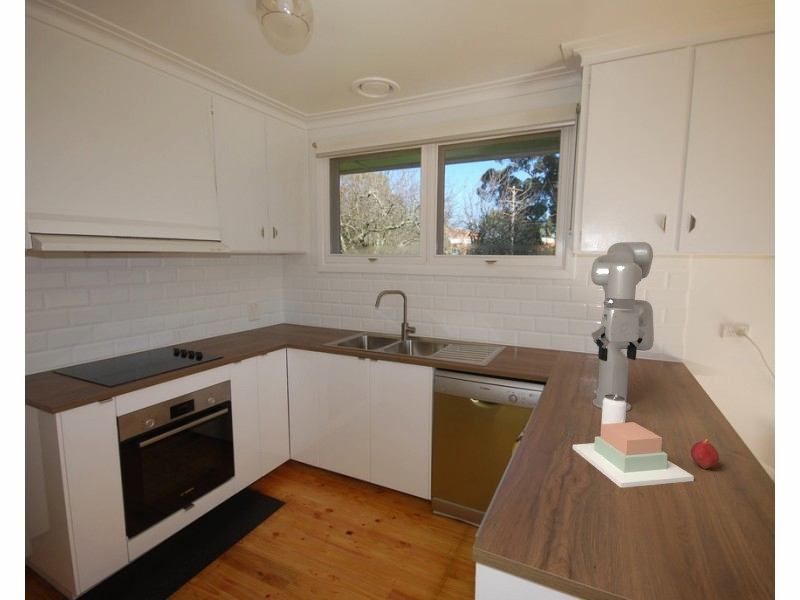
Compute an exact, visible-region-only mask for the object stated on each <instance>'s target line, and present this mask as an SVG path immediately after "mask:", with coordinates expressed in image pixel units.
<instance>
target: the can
mask: <svg viewBox="0 0 800 600" xmlns="http://www.w3.org/2000/svg"><path fill="white" fill-rule="evenodd" d="M626 402H627V401H626ZM626 402H625V398H624V397H622V396H619V395H613V394H607V395H605V398H604V399H603V406H602V409H601V424H613V423H626V418H627V417H626V415H627V414H626V413H627V411H626Z"/></svg>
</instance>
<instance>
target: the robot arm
mask: <svg viewBox="0 0 800 600" xmlns="http://www.w3.org/2000/svg"><path fill="white" fill-rule="evenodd" d="M653 260H654V250H653V248H652V246H651V244H650V243H648V242H646V241H644V242H643V241H636V242H635V241H631V242H630V241H629V242H627V241H626V242H625V241H624V242H617V243H614V244H613V243H612V245H610V246H609V248H608V250H607V252H606V254H603V255H601V256H597V258H595V259H594V261H593V263H592V266H591V271H590V272H591V273H590V276H591V278H590V279H591V281H592V284H594V285H595V286H602V289H603V292H604V300H603V305H604V306H603V307H604V308H603V313H602V316H601V323H600V326H599V328H598V329H596V330H595V331H593V332H591V337H592V339H593V342H594V343H595V344H596V346H597V347H598V353H597V355H598V356H597V357H598V360H599V365H598V366H599V367H598V368H599V369H598V381H597V382H598V385H597V388H596V389H594V390H593V393H594V394H595V395H596V397H595V398H593V399H592V404H593V406H595V407H597V408H598V409H601V410H602V406H603V399H604V398H605V395H607V394H613V395H619V396H622V397H624V398H625V402H626V412H629V411H630V410H632V409H631V408H632V406H631V404H630V403H629V402H627V397H628V382H629V381H628V380H629V367H630V366H629V365H630V364H629V360H632V361H636V360H637V351H645V352H647V351H649V350H651V349H652V348H653V346H654V342H655V337H654V336H655V335H654V333H655V330H654V311H653V306H652V305H651V303H650V302H649V301H647V300H643V299H636V290H637V289H636V288H637V286H638V285H639V283H640V282H641V281H642V280H643V279H645V278H647V277H648V276H649V273H650V271H651V267H652V264H653ZM622 350H626V354H625V353H624V352H623V351H622Z"/></svg>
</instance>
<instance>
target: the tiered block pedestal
mask: <svg viewBox="0 0 800 600" xmlns="http://www.w3.org/2000/svg"><path fill="white" fill-rule="evenodd" d="M662 444H663V437H661V436H659V435H657V434H656V433H655V432H652V431H651V430H649V429H647V428H645V427H644V426H641V424H640V425H639V424H638V423H636V422H634V421H629V422H628V421H627V422H625V423H613V424H602V423H601V425H600V436H594V442H591V443H580V444H572V450H573V451H575V452H576V453H577V454H579V456H580V457H582V458H583V459H585V461H587V462H588V463H589V464H590V465H592V466H593V467H595V468H596V469H597V470H599V472H600V473H602V474H603V475H604V476H606V477H607V478H608V479H609V480H611V481H612V482H613V483H614V484H616V486H618V487H619V488H621V489H622V488H633V487H642V486H643V487H644V486H655V485H663V484H664V485H665V484H672V483H673V484H676V483H685V482H694V479H695V477H694V475H693V474H691V473H689V472H688V471H686V470H685V469H683V468H681V467H679V466H678V465H676V464H675V463H673V462H671V461H670V460H668V453H666V452H665V451H663V450H662V446H663V445H662Z"/></svg>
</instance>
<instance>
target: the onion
mask: <svg viewBox="0 0 800 600" xmlns="http://www.w3.org/2000/svg"><path fill="white" fill-rule="evenodd" d="M690 456H691V458H692V459H693V461H694V462H695V463H696V464H697V465H698V466H700V468H702V469H704V470H706V469H708V468H711V467H713V466H715V465H716V464H718V463H719V460H720V459H719V458H720V455H719V452H718V451H717V449H716V447H715V446H714V445H712V444H711V443H710V442H709V439H703V440H701V441H699V442H698V441H697V442H696V443H694V444H693V445H692V447H691V449H690Z"/></svg>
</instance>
